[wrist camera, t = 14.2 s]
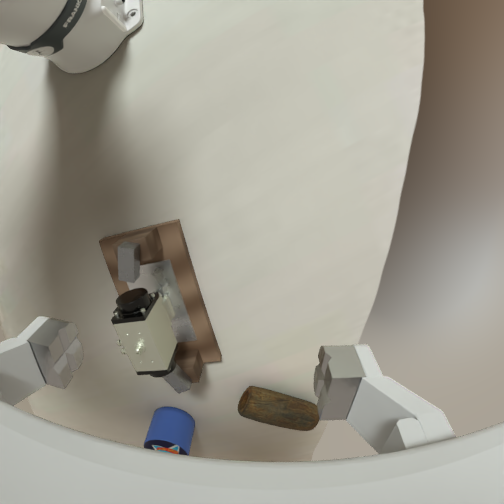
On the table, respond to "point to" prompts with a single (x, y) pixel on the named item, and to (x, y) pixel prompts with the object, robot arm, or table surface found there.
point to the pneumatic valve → (146, 331)
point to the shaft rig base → (174, 248)
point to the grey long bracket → (164, 282)
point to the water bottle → (170, 431)
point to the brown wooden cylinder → (278, 409)
